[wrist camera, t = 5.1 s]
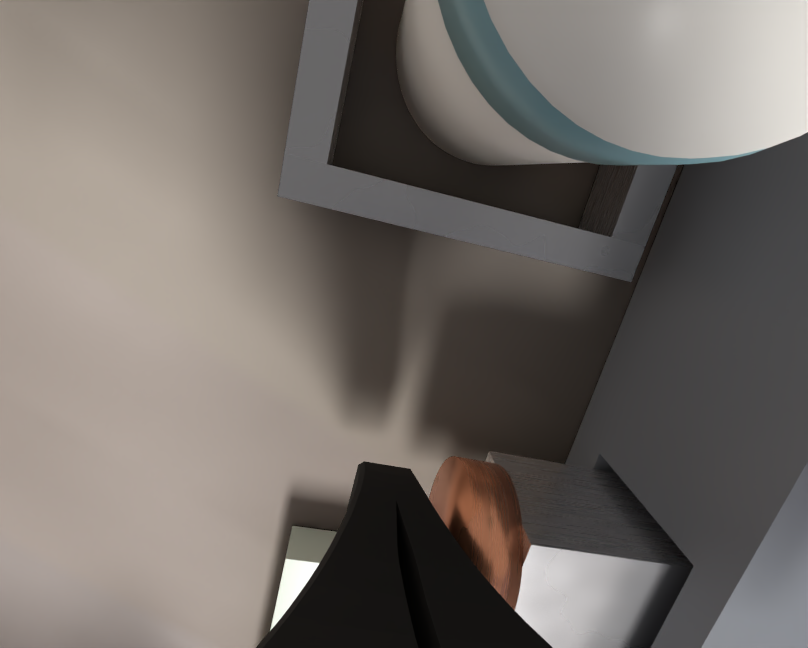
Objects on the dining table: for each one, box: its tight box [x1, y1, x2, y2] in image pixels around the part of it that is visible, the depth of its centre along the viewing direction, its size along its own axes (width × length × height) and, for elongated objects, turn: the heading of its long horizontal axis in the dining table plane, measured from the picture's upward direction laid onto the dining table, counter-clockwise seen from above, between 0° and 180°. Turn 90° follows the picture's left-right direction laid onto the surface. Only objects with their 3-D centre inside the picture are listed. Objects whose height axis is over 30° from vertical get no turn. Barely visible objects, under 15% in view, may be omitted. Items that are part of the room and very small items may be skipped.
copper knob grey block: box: [429, 451, 694, 648], centre depth 11 cm, size 9×4×4 cm, turn 76°
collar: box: [278, 0, 677, 282], centre depth 9 cm, size 8×8×2 cm
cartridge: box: [396, 0, 808, 166], centre depth 7 cm, size 4×4×7 cm
